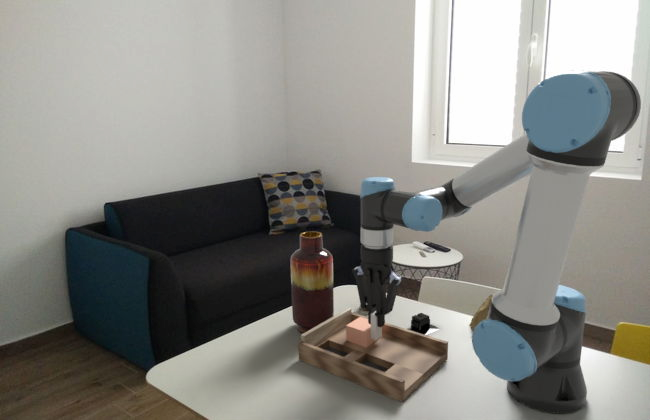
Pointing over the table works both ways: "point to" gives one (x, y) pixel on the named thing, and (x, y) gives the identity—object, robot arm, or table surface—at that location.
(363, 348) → the box
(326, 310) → the vase
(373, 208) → the robot arm
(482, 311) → the rock
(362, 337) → the block
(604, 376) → the table surface
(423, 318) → the black piece
